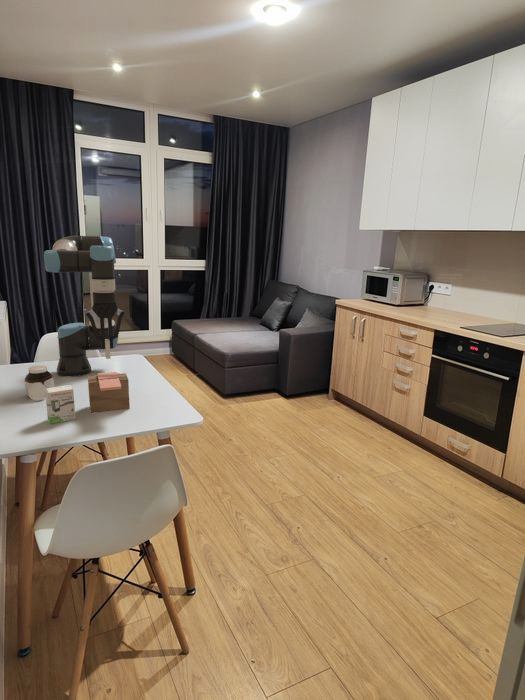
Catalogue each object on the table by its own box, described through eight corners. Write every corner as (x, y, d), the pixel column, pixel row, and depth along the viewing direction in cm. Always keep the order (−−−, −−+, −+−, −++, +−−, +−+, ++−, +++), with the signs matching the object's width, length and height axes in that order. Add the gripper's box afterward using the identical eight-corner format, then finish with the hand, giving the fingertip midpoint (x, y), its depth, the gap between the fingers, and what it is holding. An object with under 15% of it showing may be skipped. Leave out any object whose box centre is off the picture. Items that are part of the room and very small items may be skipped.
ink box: (50, 424, 153) (47, 392, 150) (47, 419, 156) (44, 388, 153) (76, 419, 157) (73, 388, 154) (73, 414, 161) (70, 384, 158)
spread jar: (47, 389, 186) (44, 363, 183) (62, 395, 180) (59, 368, 177) (18, 397, 176) (15, 369, 173) (33, 403, 170) (30, 375, 167)
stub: (98, 382, 161) (98, 379, 161) (118, 380, 164) (118, 377, 163) (100, 391, 152) (100, 388, 152) (121, 389, 155) (121, 386, 154)
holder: (89, 405, 170) (87, 373, 167) (127, 401, 175) (125, 370, 172) (90, 413, 163) (88, 380, 159) (129, 408, 168) (128, 376, 165)
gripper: (84, 293, 145) (88, 361, 150) (125, 292, 150) (128, 358, 155) (83, 290, 151) (88, 356, 157) (122, 290, 156) (125, 354, 162)
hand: (108, 357), depth 156 cm, fingers closed
